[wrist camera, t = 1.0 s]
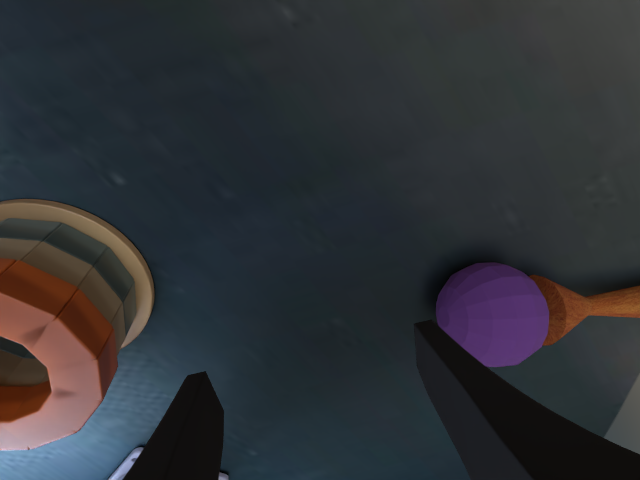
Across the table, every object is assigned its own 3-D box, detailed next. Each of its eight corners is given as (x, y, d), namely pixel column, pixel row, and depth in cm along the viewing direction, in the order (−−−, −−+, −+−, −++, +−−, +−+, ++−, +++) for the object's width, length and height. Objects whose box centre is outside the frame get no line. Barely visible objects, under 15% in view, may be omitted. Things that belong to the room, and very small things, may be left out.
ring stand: (104, 378, 25) (72, 444, 21) (-85, 306, 21) (-170, 371, 17) (189, 265, 22) (172, 318, 18) (-12, 156, 18) (-95, 191, 13)
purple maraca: (717, 359, 25) (450, 393, 21) (643, 294, 30) (410, 311, 26) (796, 298, 22) (492, 324, 17) (698, 235, 26) (437, 243, 22)
